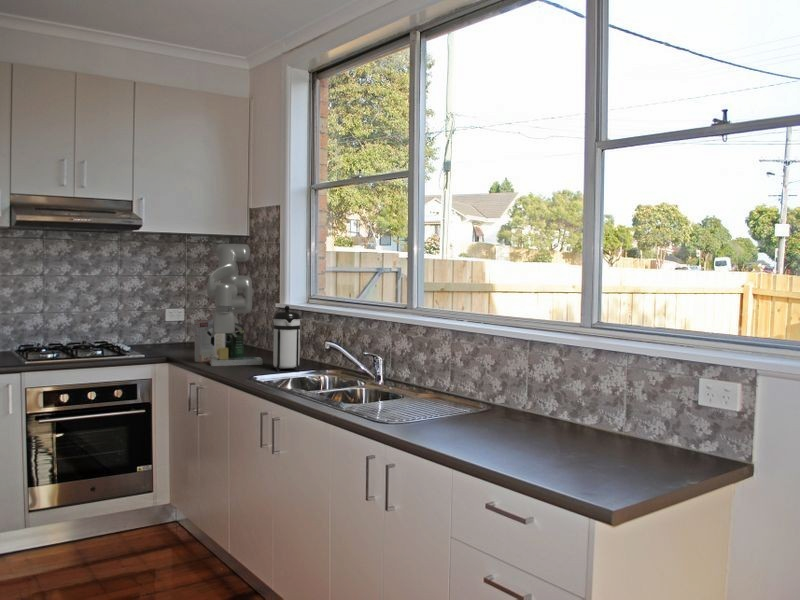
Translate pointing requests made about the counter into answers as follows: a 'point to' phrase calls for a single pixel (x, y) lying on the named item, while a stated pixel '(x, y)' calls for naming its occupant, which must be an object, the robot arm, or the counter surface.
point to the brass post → (223, 353)
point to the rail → (236, 361)
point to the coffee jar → (238, 349)
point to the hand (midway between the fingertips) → (223, 345)
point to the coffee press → (286, 339)
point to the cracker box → (206, 341)
